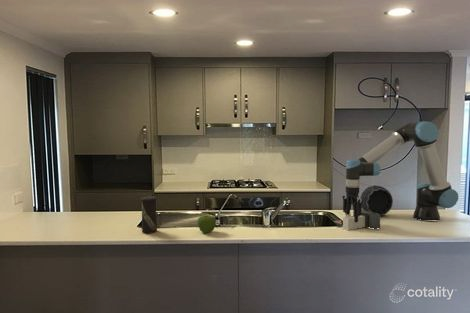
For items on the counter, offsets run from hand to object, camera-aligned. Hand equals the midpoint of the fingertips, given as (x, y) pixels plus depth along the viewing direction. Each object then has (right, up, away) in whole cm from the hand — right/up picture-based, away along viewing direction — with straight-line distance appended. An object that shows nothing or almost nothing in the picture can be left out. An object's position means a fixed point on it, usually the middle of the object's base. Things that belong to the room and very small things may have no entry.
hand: (351, 226), depth 211 cm
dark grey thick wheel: (+26, +1, +31) cm, 41 cm away
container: (-116, -2, -4) cm, 116 cm away
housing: (+10, -1, +5) cm, 12 cm away
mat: (+5, 0, +16) cm, 17 cm away
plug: (+4, -1, +2) cm, 4 cm away
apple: (-83, -2, -7) cm, 84 cm away
